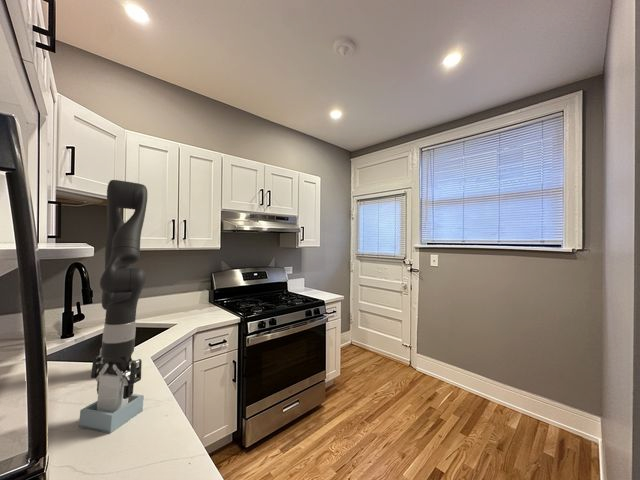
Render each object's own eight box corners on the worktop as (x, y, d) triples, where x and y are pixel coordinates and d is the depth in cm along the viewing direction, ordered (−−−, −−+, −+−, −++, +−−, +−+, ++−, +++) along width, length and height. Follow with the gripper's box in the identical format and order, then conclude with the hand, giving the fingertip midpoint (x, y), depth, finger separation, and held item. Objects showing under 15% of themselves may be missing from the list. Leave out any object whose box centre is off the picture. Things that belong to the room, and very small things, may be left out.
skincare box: (128, 412, 76) (131, 370, 77) (116, 421, 72) (120, 376, 73) (107, 411, 76) (110, 369, 77) (94, 420, 72) (98, 375, 73)
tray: (78, 427, 70) (80, 409, 70) (114, 406, 80) (115, 391, 80) (110, 433, 68) (111, 415, 68) (142, 410, 78) (143, 395, 78)
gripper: (151, 336, 78) (147, 392, 77) (110, 331, 80) (106, 385, 79) (128, 344, 70) (123, 406, 69) (85, 339, 73) (79, 399, 72)
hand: (114, 395), depth 74 cm, fingers open, 8 cm apart
